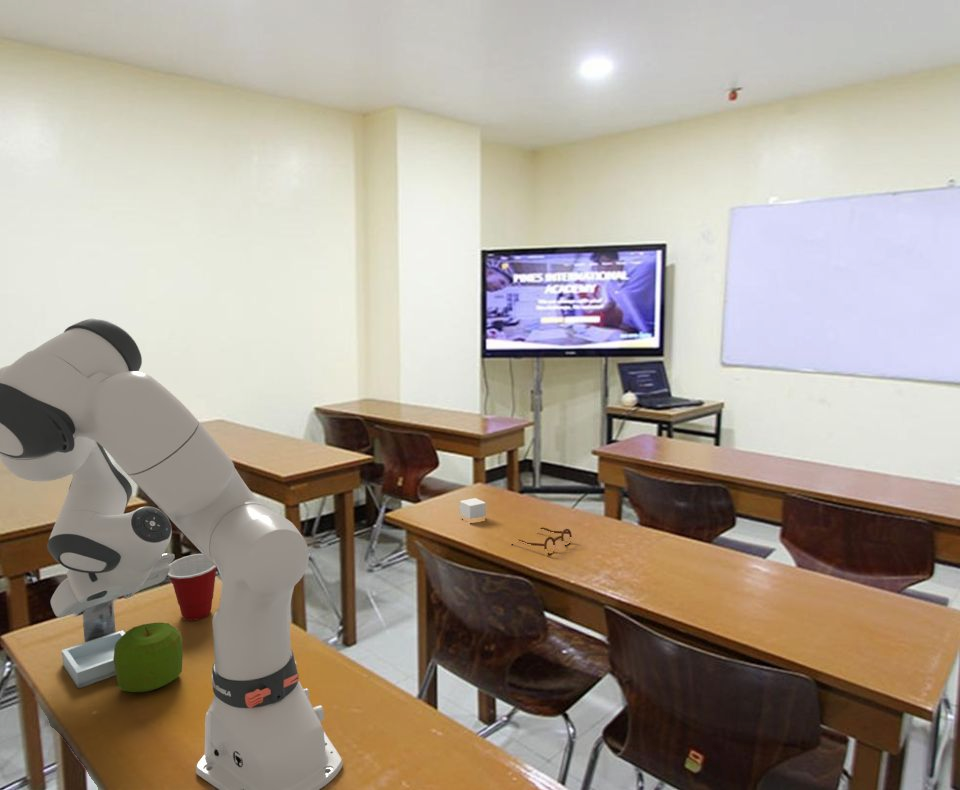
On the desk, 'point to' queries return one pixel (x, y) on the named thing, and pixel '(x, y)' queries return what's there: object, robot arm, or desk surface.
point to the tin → (99, 621)
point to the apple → (148, 657)
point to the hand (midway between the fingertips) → (102, 603)
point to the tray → (91, 660)
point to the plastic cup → (193, 585)
